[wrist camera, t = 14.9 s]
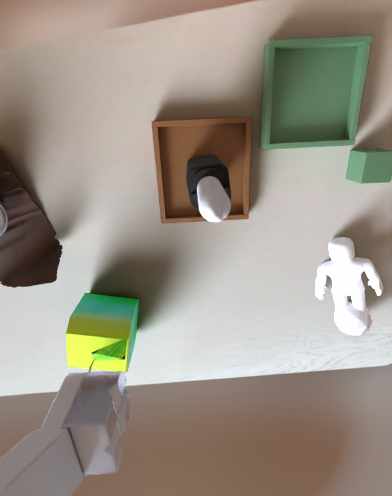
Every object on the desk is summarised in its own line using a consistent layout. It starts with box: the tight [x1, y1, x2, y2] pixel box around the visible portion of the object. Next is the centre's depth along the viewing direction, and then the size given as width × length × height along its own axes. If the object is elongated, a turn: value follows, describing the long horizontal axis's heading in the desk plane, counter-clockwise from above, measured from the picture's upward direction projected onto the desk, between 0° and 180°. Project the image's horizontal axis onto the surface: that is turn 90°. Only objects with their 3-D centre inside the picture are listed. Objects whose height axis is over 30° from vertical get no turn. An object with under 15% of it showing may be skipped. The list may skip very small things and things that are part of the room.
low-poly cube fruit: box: [66, 293, 139, 372], centre depth 50 cm, size 11×10×15 cm
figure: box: [315, 237, 384, 335], centre depth 52 cm, size 11×7×20 cm
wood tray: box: [152, 117, 252, 223], centre depth 45 cm, size 16×15×2 cm
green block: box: [346, 149, 392, 183], centre depth 44 cm, size 4×4×4 cm
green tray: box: [260, 35, 372, 149], centre depth 41 cm, size 14×14×3 cm
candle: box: [186, 154, 231, 222], centre depth 34 cm, size 5×5×25 cm
